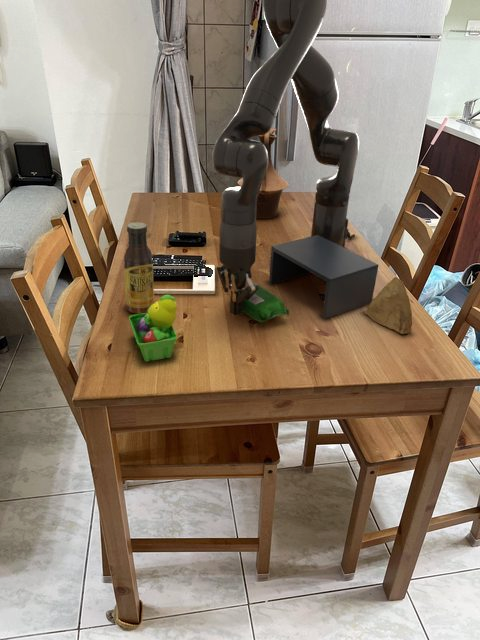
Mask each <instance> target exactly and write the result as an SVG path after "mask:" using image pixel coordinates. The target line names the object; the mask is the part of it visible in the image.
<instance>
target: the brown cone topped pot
mask: <svg viewBox="0 0 480 640" xmlns="http://www.w3.org/2000/svg"><path fill="white" fill-rule="evenodd" d="M276 131H277V128H275V127H274V128H273V127H272V128H271V130H270V131H269V132H268V133H267V134H264V135H259V136H257V137H258V139H259V142H261V143H262V144H263V145H264V146H265V147H266V149H267V152H268V166H267V170H266V173H265V175H264V178H263V181H262V184H261V188H260V191H259V195H258V199H257V210H256V219H270V218H275V217H276V216H278V209H279V204H280V200H281V196H282V194H283V191H284V190H286V189H287V188H289V186H290V185H289V182H288V181H286V180H285V179H284V178H283V177H282V176H280V174H279V173H278V172H277V170H276V169H275V166H274V164H273V161H272V145H273V143H274V142H275V140H276V139H277V135H276V134H275V132H276ZM242 182H243V178H239V180H238V181H237V185H238V187H241V185H242Z"/></svg>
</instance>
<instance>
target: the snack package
mask: <svg viewBox="0 0 480 640" xmlns="http://www.w3.org/2000/svg"><path fill="white" fill-rule="evenodd" d="M252 283H253V285H255V284H257V285H258V290H257V291H256V292H255V293H254V295H253V296H252V297H251V298H250V299H249V300H247V301H243V304H242V313H244V314H246V315H247V316H249V317H250V318H251V319H253V320H255V321H257V322H258V323H261V324H263V323H265V322H268V321H270V320H272V319H275V318H277V317H279V316H283V315H286V316H289V314H290V309H288V308H287V307H286V306H285V304H284V302H283V301H282V300H281V298H279V297H278V296H277V295H275V294H273V293H272V292H270V291H269V290H268V289H266V288H264V287H263V286H261V285H259V284H258V283H256V282H253V281H252ZM226 295H227V296H228V293H226Z"/></svg>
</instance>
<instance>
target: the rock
mask: <svg viewBox="0 0 480 640" xmlns="http://www.w3.org/2000/svg"><path fill="white" fill-rule="evenodd" d="M412 313H413V312H412V307H411V303H410V297H409V295H408V292H407V289H406V286H405V283H404V281H403V280H402V279H400V278H399V277H395V276H394V277H393V278H392V279H391V280H390V281H389V282H387V284H386V285H385V286H384V287H382V289H381V290H380V291H379V292H378V294H377V295H376V296H375V297H374V298H372V302H371V303H369V305H368V306H367V307H366V310H365V311H364V315H366V316H367V317H369V318H370V319H371V320H372V321H373V322H375V323H377V324H379V325H381V326H384V327H386V328H388V329H390V330H394V331H395V332H397V333H399V334H401V335H405V334H410V333H411V330H412V327H413V317H412V316H413V314H412Z"/></svg>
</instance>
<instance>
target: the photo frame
mask: <svg viewBox="0 0 480 640" xmlns="http://www.w3.org/2000/svg"><path fill="white" fill-rule="evenodd" d="M204 265H205V266H206V267H209V268H211V269H212V270H213V274H212V276H211V277H208V276H198V277H194V276H193V278H192V279H193V280H192V289H191V288H189V289H188V288H187V289H185V288H153V289H154V295H215V294H216V273H215V271H216V270H215V269H216V266H215V264H204ZM154 269H155V270H156V269H157V270H160V269H162V270H194V266H153V270H154Z"/></svg>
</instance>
